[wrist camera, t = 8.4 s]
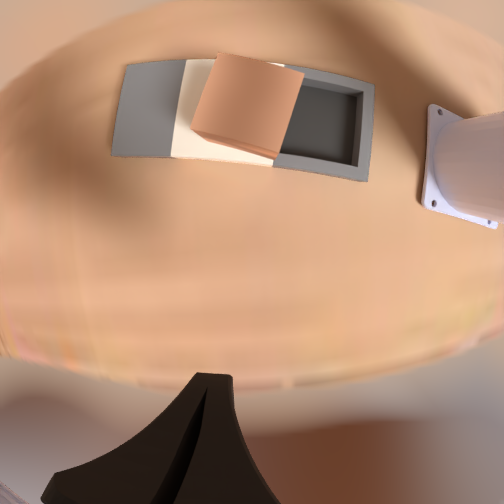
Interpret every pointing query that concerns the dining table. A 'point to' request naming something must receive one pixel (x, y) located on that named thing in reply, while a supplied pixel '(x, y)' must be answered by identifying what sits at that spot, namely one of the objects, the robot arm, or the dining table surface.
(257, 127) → the cube
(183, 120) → the board
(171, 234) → the dining table surface
